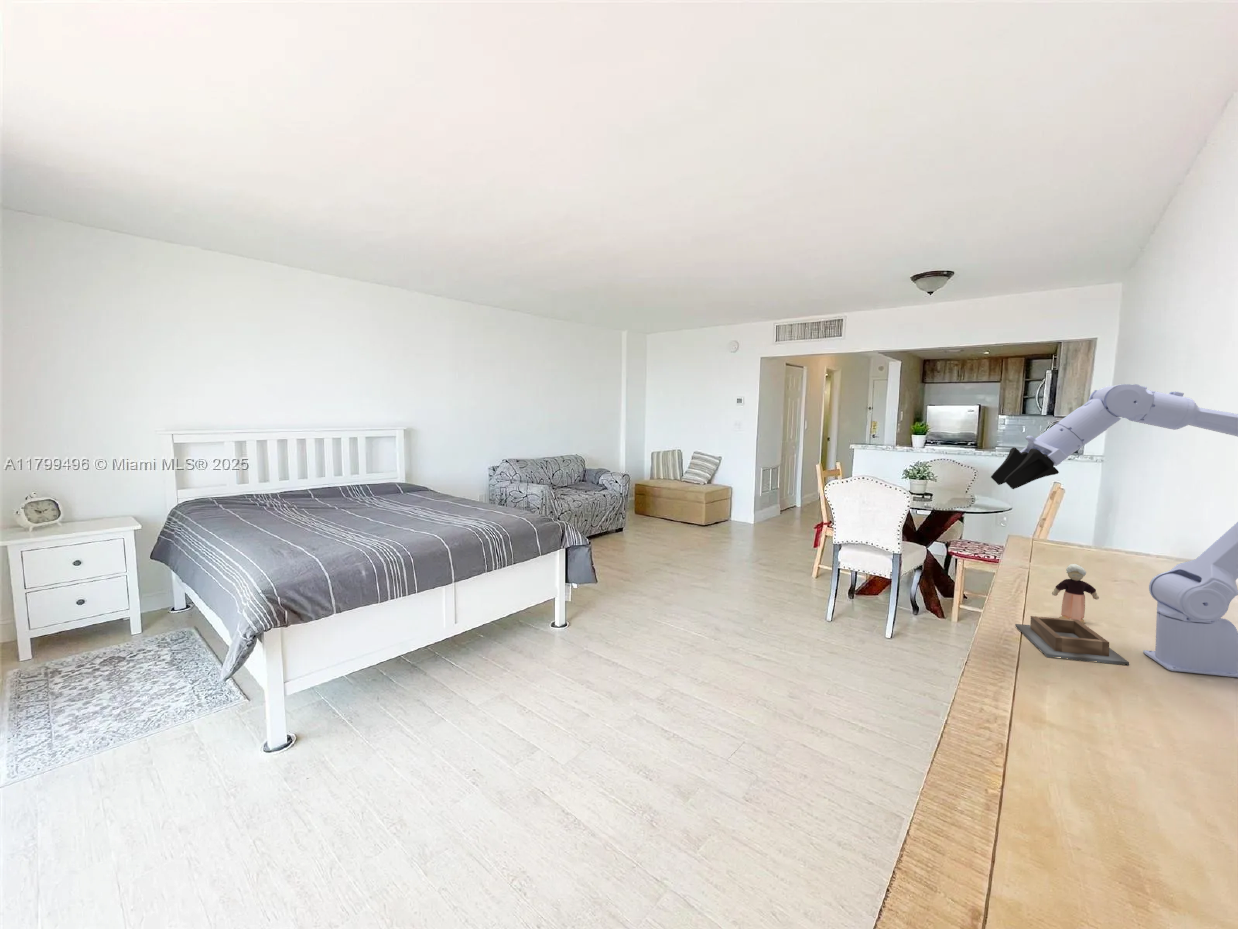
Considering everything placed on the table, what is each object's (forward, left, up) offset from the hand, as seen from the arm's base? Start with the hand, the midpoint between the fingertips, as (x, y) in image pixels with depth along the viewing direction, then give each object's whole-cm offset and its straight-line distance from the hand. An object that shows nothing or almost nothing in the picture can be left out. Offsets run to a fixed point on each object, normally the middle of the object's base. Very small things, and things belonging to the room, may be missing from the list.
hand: (1001, 482), depth 100 cm
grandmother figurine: (-20, -20, -32) cm, 43 cm away
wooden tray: (-13, -5, -32) cm, 35 cm away
